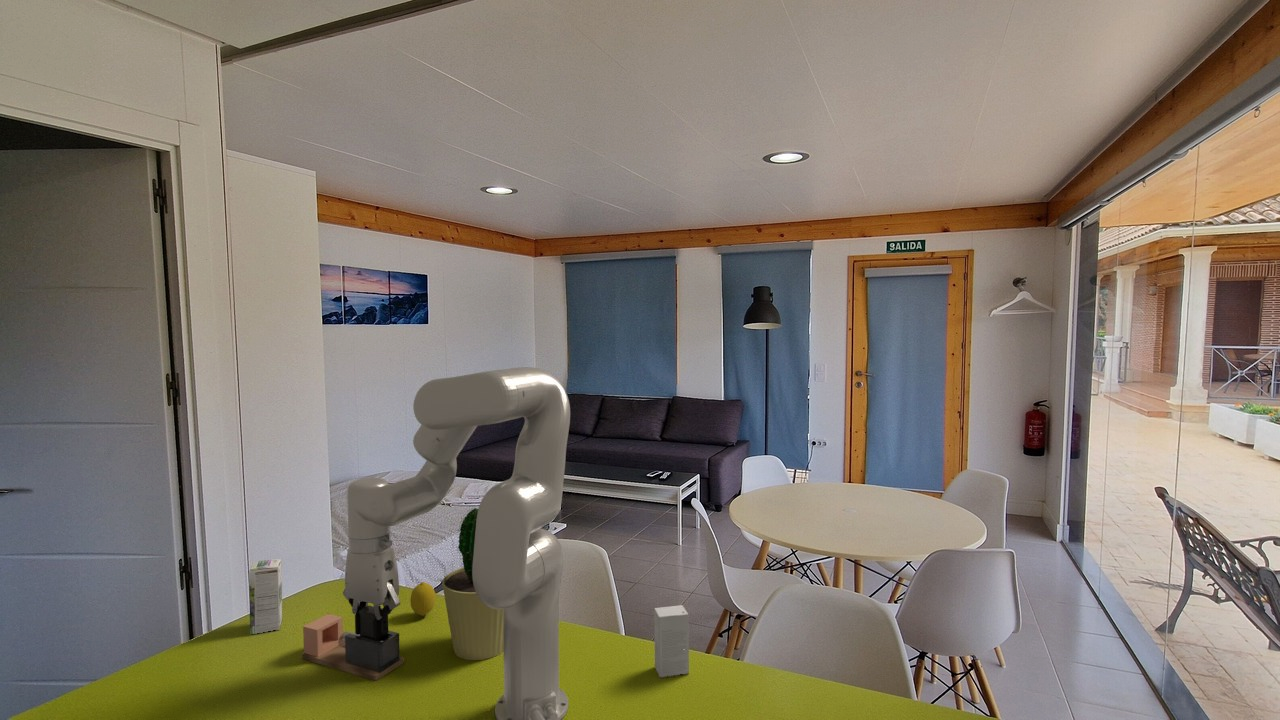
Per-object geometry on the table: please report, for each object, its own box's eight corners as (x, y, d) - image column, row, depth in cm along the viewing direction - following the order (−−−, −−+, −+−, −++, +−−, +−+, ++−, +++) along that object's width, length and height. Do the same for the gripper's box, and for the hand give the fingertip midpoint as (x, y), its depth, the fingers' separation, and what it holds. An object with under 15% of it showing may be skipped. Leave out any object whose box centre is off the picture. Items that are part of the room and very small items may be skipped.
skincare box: (683, 663, 125) (683, 604, 124) (689, 674, 121) (689, 614, 120) (653, 666, 123) (653, 607, 123) (658, 678, 119) (658, 617, 119)
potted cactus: (475, 674, 120) (473, 521, 119) (427, 650, 130) (425, 507, 128) (534, 642, 133) (532, 503, 131) (487, 622, 142) (485, 491, 140)
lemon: (428, 622, 142) (427, 588, 141) (405, 620, 143) (405, 586, 142) (440, 611, 147) (439, 578, 147) (419, 609, 148) (418, 576, 148)
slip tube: (392, 654, 123) (391, 609, 123) (380, 661, 120) (379, 616, 120) (350, 643, 128) (349, 600, 127) (338, 650, 125) (337, 606, 124)
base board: (403, 662, 125) (403, 657, 125) (376, 680, 118) (376, 675, 118) (331, 642, 133) (331, 638, 133) (301, 658, 126) (301, 653, 126)
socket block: (342, 642, 131) (342, 617, 130) (318, 656, 125) (317, 630, 125) (329, 639, 132) (328, 613, 132) (303, 652, 127) (303, 626, 126)
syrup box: (253, 624, 141) (251, 561, 140) (283, 619, 143) (281, 557, 143) (249, 635, 136) (247, 570, 135) (281, 630, 138) (279, 566, 138)
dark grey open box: (399, 660, 124) (399, 633, 124) (380, 673, 119) (379, 644, 119) (365, 650, 127) (365, 624, 127) (345, 663, 123) (344, 635, 123)
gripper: (416, 542, 122) (418, 633, 123) (353, 531, 129) (356, 618, 130) (387, 555, 115) (389, 651, 116) (322, 542, 122) (325, 634, 123)
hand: (371, 632), depth 123 cm, fingers closed on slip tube, 4 cm apart
